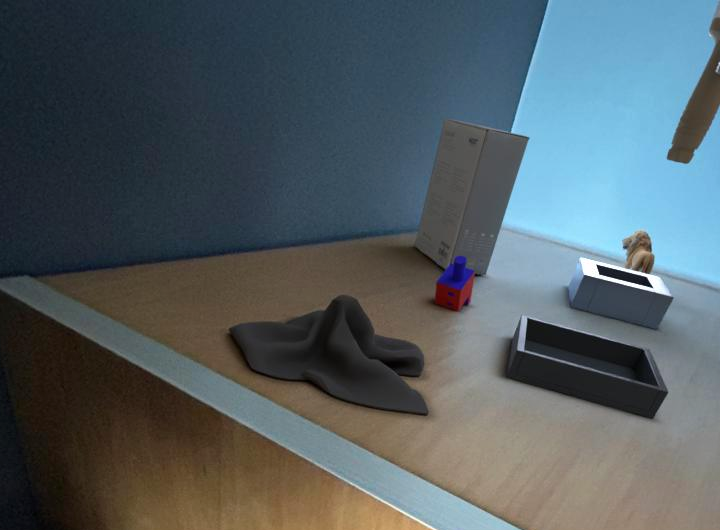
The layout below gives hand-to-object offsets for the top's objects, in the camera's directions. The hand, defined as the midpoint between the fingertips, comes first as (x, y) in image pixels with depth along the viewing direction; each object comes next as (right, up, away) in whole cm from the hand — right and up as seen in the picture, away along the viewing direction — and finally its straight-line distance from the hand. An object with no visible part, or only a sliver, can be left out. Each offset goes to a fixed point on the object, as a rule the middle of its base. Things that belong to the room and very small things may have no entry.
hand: (716, 76), depth 74 cm
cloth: (-49, -42, -17) cm, 66 cm away
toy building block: (-34, -28, +5) cm, 44 cm away
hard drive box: (-30, -12, +26) cm, 42 cm away
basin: (-22, -41, -8) cm, 47 cm away
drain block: (-4, -23, +20) cm, 31 cm away
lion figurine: (+7, -13, +36) cm, 39 cm away
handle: (-2, -8, +6) cm, 10 cm away
